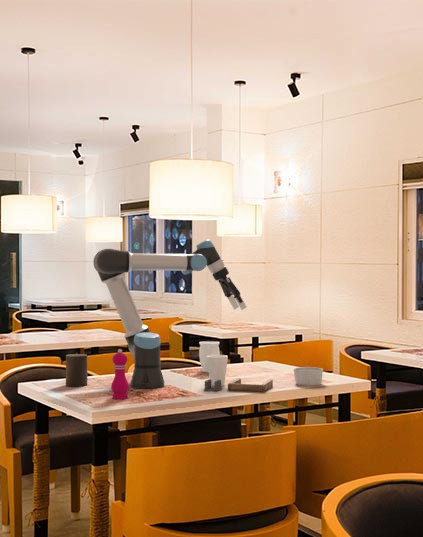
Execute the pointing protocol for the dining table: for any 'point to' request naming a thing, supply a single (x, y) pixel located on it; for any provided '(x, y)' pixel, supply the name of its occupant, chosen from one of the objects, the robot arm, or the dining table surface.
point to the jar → (207, 352)
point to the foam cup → (217, 368)
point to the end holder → (249, 386)
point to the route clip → (209, 388)
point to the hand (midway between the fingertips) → (240, 308)
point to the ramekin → (308, 376)
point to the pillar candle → (76, 370)
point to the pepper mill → (120, 377)
